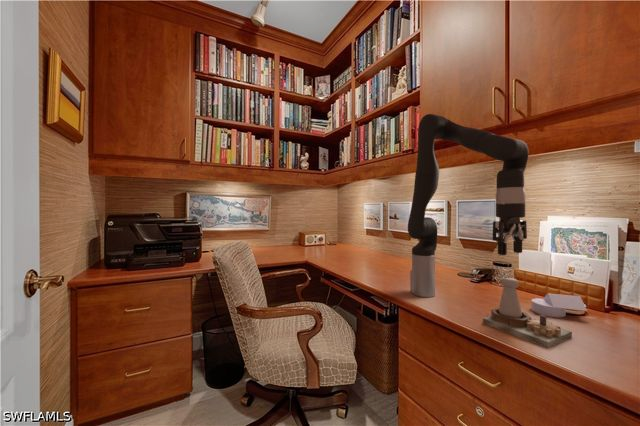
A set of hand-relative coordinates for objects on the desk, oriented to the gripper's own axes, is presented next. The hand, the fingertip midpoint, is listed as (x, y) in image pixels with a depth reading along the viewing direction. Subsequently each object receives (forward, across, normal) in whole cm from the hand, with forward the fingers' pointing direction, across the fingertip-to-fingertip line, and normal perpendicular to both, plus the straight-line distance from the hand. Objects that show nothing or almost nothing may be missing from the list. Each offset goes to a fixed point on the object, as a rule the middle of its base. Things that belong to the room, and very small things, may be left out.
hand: (510, 253), depth 81 cm
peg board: (+22, 0, +4) cm, 23 cm away
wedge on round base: (+22, -24, +2) cm, 33 cm away
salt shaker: (+21, 0, 0) cm, 21 cm away
